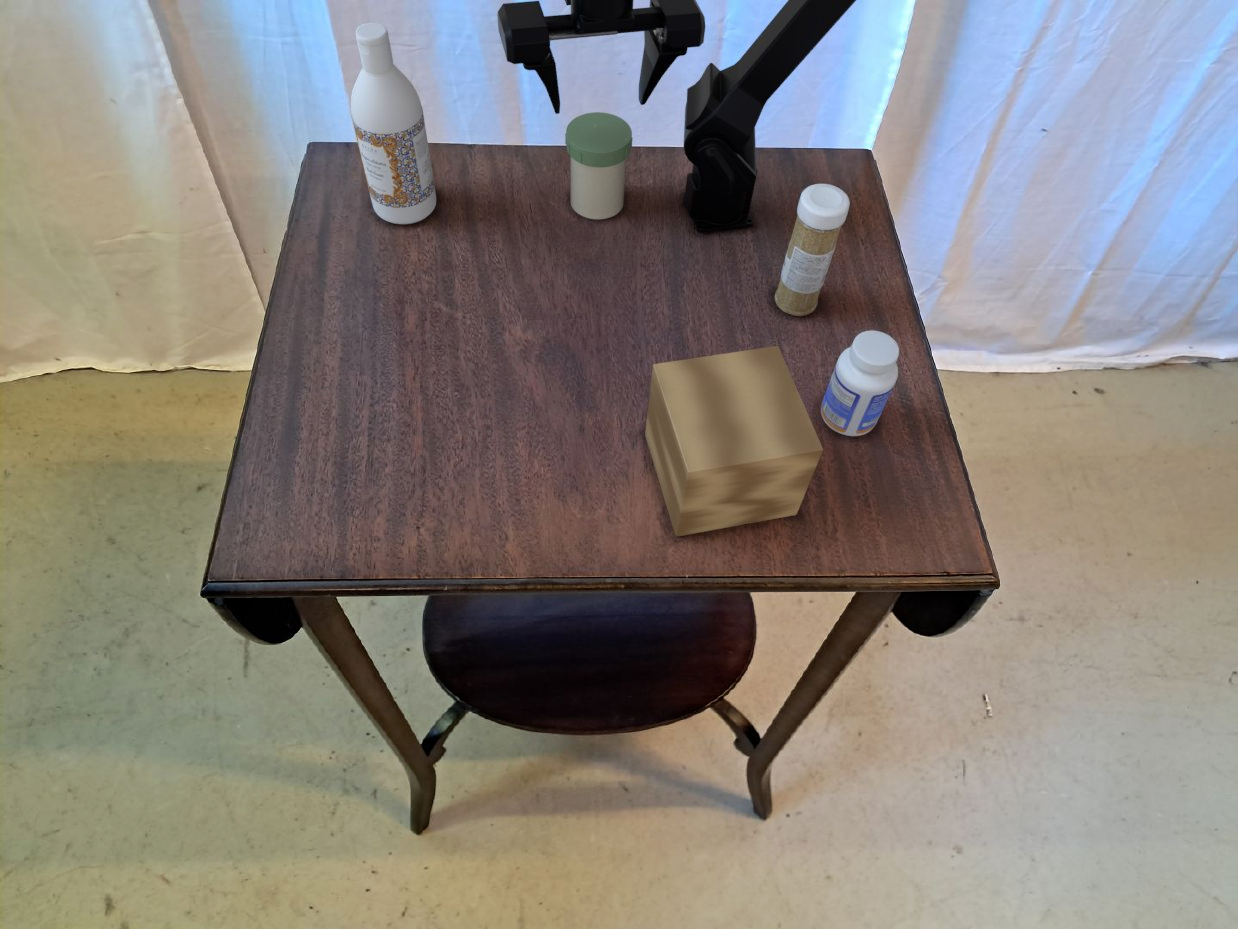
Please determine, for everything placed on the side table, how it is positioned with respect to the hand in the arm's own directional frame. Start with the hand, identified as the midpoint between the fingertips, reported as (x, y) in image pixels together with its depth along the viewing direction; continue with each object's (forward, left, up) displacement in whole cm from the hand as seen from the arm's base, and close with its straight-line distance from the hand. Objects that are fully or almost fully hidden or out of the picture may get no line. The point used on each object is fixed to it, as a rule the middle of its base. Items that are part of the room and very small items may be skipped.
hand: (599, 106), depth 89 cm
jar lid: (0, 0, -3) cm, 3 cm away
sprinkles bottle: (-17, +19, -12) cm, 28 cm away
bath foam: (+21, -3, -12) cm, 24 cm away
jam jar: (0, 0, -12) cm, 12 cm away
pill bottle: (-17, +34, -12) cm, 40 cm away
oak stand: (-3, +38, -12) cm, 40 cm away
